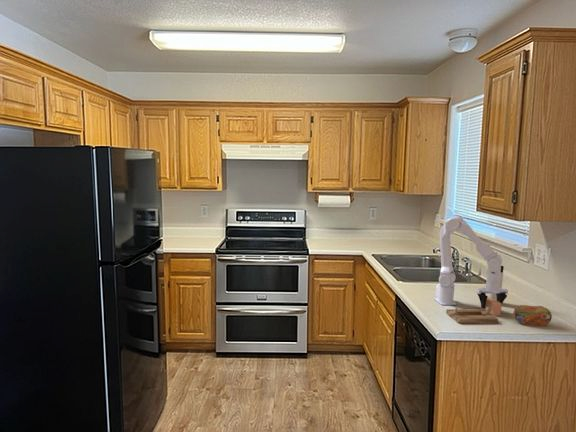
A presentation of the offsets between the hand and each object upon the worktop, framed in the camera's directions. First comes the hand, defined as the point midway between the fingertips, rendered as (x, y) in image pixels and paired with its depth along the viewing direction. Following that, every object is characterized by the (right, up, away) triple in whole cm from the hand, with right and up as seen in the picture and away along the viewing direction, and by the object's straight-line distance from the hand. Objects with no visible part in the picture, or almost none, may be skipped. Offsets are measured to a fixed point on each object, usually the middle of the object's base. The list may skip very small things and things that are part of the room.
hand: (490, 307), depth 195 cm
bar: (0, -2, 0) cm, 2 cm away
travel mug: (+8, -1, +13) cm, 15 cm away
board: (-13, -3, -9) cm, 16 cm away
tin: (+11, -4, -14) cm, 18 cm away
